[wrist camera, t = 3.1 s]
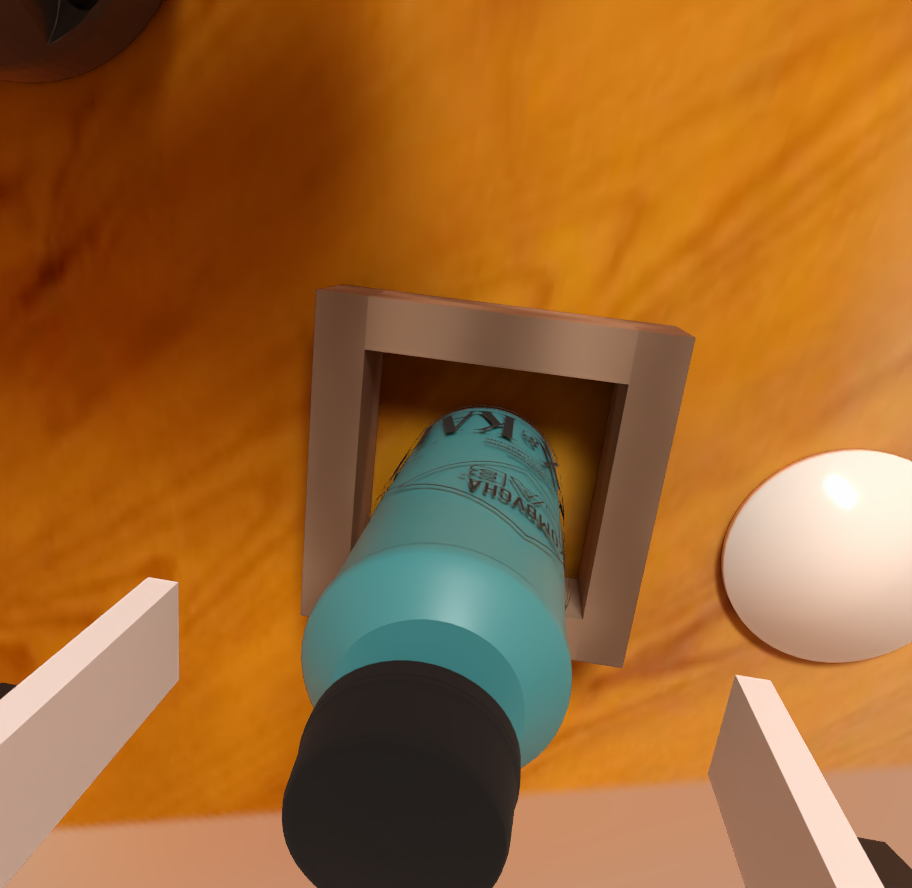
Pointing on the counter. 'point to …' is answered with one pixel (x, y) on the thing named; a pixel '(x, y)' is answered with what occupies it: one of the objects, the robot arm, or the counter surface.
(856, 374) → the counter surface
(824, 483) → the coaster
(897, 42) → the counter surface
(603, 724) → the counter surface
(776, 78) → the counter surface
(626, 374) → the holder
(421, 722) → the beverage bottle
